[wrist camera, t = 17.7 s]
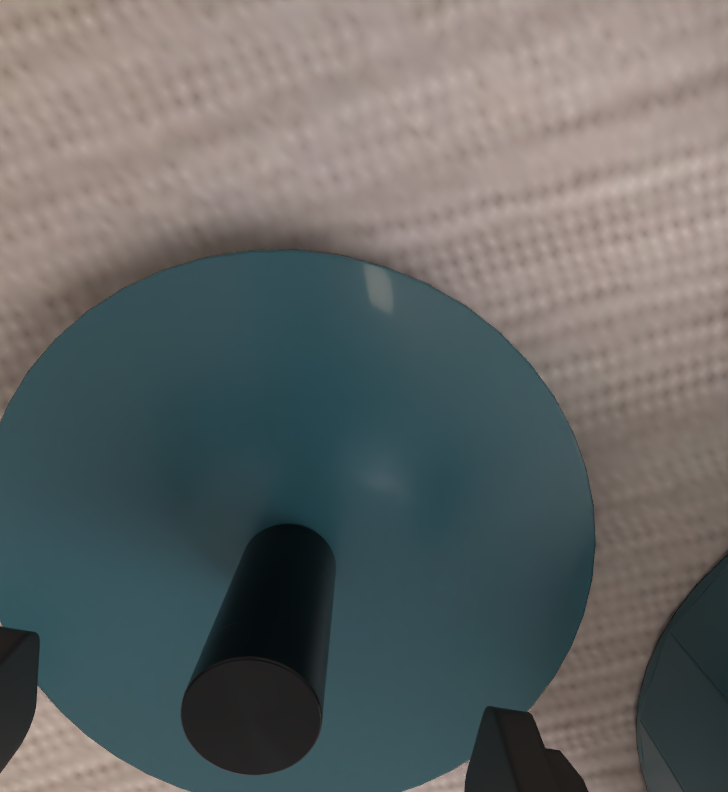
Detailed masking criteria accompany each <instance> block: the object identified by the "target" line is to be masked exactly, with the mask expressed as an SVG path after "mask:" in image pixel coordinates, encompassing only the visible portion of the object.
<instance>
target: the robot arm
mask: <svg viewBox="0 0 728 792" xmlns="http://www.w3.org/2000/svg"><path fill="white" fill-rule="evenodd" d="M39 651H40V638H39V635H38V633H36V632H32V631H26V630H20V629H13V628H7V627H1V626H0V773H1V771H2V770H3V769H4V767H5V766H6V765H7V763H8V762H9V761H10V759H11V758H12V756H13V755H14V754H15V752H16V751H17V750H18V748H19V747H20V745H21V743H22V742H23V740H24V738H25V736H26V734H27V732H28V730H29V728H30V725H31V723H32V720H33V717H34V713H35V709H36V700H37V684H38V668H39ZM464 792H588V790H587V787H586V785H585V783H584V780H583V779H582V777H581V776H580V775H579V774H578V773H577V771H576V770H575V769H574V768H573V766H572V765H571V764H570V763H569V761H568V760H567V759H566V758H565V756H564V755H563V754H562V753H561V751H559V750H553V749H547V748H545V746H544V744H543V741H542V738H541V736H540V733H539V730H538V728H537V725H536V723H535V720H534V718H533V716H532V715H531V714H530V713H529V712H524V711H518V710H512V709H505V708H499V707H493V706H488V707H486V709H485V710H484V712H483V716H482V719H481V723H480V726H479V730H478V734H477V737H476V741H475V744H474V748H473V752H472V755H471V759H470V762H469V766H468V770H467V774H466V779H465V791H464Z"/></svg>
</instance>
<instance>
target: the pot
mask: <svg viewBox="0 0 728 792" xmlns="http://www.w3.org/2000/svg"><path fill="white" fill-rule="evenodd" d="M637 746H638V752H639V757H640V762H641V767H642V772H643V775H644V778H645V780H646V784H647V792H728V556H727V557H726V558H724V559H723V560H722V561H721V562H720V563H719V564H718V565H717V566H716V567H715V568H714V569H713V570H712V571H711V572H710V573H709V574H708V575H707V576H706V577H705V578H704V579H703V580H702V581H701V582H700V583H699V584H698V585H697V586H696V587H695V589H694V590H693V591H692V592H691V594H690V595H689V596H688V597H687V599H686V600H685V601H684V603H683V604H682V605H681V606H680V608H679V609H678V610H677V611H676V613H675V615H674V616H673V618H672V620H671V621H670V623H669V625H668V626H667V628H666V630H665V631H664V633H663V634H662V636H661V638H660V640H659V642H658V644H657V646H656V649H655V651H654V653H653V656H652V658H651V660H650V662H649V665H648V667H647V671H646V674H645V678H644V682H643V685H642V689H641V692H640V698H639V706H638V714H637Z"/></svg>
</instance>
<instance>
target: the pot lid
mask: <svg viewBox="0 0 728 792" xmlns="http://www.w3.org/2000/svg"><path fill="white" fill-rule="evenodd" d="M594 554H595V524H594V505H593V500H592V495H591V490H590V485H589V480H588V475H587V470H586V467H585V464H584V461H583V458H582V456H581V453H580V450H579V447H578V444H577V442H576V439H575V436H574V433H573V431H572V429H571V427H570V425H569V423H568V421H567V420H566V418H565V416H564V414H563V412H562V410H561V408H560V406H559V404H558V403H557V401H556V399H555V397H554V395H553V394H552V393H551V391H550V390H549V389H548V387H547V386H546V384H545V383H544V382H543V380H542V379H541V378H540V376H539V375H538V373H537V372H536V371H535V369H534V368H533V367H532V365H531V364H530V363H529V362H528V361H527V360H526V359H525V358H524V357H523V355H522V354H521V353H520V352H519V351H518V350H517V349H516V348H515V347H514V346H513V345H512V344H511V343H510V342H509V341H508V340H507V339H506V338H505V337H504V336H503V335H502V334H501V333H500V332H499V331H498V330H496V329H495V328H494V327H492V326H491V325H490V324H489V323H487V322H486V321H485V320H483V319H482V318H481V317H480V316H478V315H477V314H476V313H474V312H473V311H472V310H471V309H469V308H468V307H467V306H465V305H463V304H462V303H460V302H458V301H457V300H455V299H453V298H451V297H450V296H448V295H446V294H444V293H443V292H441V291H439V290H438V289H436V288H434V287H432V286H431V285H429V284H427V283H424V282H422V281H420V280H417V279H415V278H412V277H410V276H407V275H405V274H403V273H400V272H398V271H395V270H393V269H390V268H388V267H385V266H381V265H378V264H374V263H370V262H366V261H362V260H358V259H355V258H351V257H347V256H343V255H336V254H328V253H320V252H311V251H303V250H249V251H243V252H236V253H230V254H223V255H216V256H210V257H204V258H201V259H198V260H194V261H191V262H188V263H184V264H181V265H178V266H174V267H171V268H167V269H164V270H161V271H159V272H157V273H155V274H153V275H151V276H148V277H146V278H144V279H142V280H140V281H137V282H135V283H133V284H131V285H129V286H127V287H124V288H122V289H121V290H119V291H118V292H116V293H115V294H113V295H112V296H110V297H108V298H107V299H105V300H104V301H102V302H101V303H99V304H98V305H96V306H95V307H93V308H91V309H90V310H88V311H87V312H86V313H85V314H83V315H82V316H81V317H80V318H79V319H78V320H77V321H75V322H74V323H73V324H72V325H71V326H70V327H69V328H67V329H66V330H65V331H64V332H63V333H62V334H61V335H59V336H58V337H57V338H56V339H55V340H54V341H53V342H52V344H51V345H50V346H49V347H48V348H47V350H46V351H45V352H44V353H43V354H42V356H41V357H40V358H39V359H38V360H37V361H36V363H35V364H34V365H33V366H32V367H31V369H30V370H29V371H28V373H27V374H26V376H25V378H24V379H23V381H22V383H21V384H20V386H19V387H18V389H17V391H16V392H15V394H14V396H13V397H12V399H11V400H10V402H9V404H8V406H7V408H6V410H5V413H4V415H3V418H2V420H1V422H0V622H1V624H2V626H3V627H7V628H13V629H20V630H26V631H32V632H36V633H38V635H39V638H40V651H39V668H38V684H37V685H38V686H39V687H40V688H41V690H42V691H43V692H44V693H45V694H46V695H47V697H48V698H49V699H50V700H51V701H52V702H53V704H54V705H55V706H56V707H57V708H58V709H59V710H60V711H61V712H62V713H63V714H64V715H65V716H66V717H67V718H68V719H69V720H70V721H71V722H73V723H74V724H75V725H76V726H77V727H78V728H79V729H80V730H81V731H82V732H84V733H85V734H86V735H87V736H88V737H90V738H91V739H92V740H94V741H95V742H97V743H98V744H99V745H101V746H102V747H104V748H105V749H106V750H108V751H109V752H110V753H112V754H113V755H115V756H116V757H118V758H120V759H121V760H123V761H125V762H127V763H129V764H130V765H132V766H134V767H136V768H137V769H139V770H141V771H143V772H144V773H146V774H148V775H151V776H153V777H155V778H158V779H160V780H162V781H165V782H167V783H169V784H172V785H174V786H176V787H179V788H181V789H185V790H188V791H191V792H402V791H405V790H408V789H411V788H414V787H417V786H420V785H422V784H424V783H426V782H428V781H431V780H433V779H435V778H437V777H439V776H441V775H443V774H445V773H447V772H450V771H452V770H453V769H455V768H457V767H458V766H460V765H461V764H463V763H465V762H466V761H468V760H469V759H471V755H472V752H473V748H474V744H475V741H476V737H477V734H478V730H479V726H480V723H481V719H482V716H483V712H484V710H485V709H486V707H488V706H493V707H499V708H505V709H512V710H518V711H524V712H527V711H528V710H529V709H530V708H531V707H532V706H533V705H534V703H535V702H536V701H537V699H538V698H539V697H540V695H541V694H542V693H543V691H544V690H545V689H546V687H547V686H548V685H549V683H550V682H551V681H552V679H553V678H554V676H555V674H556V673H557V671H558V669H559V667H560V666H561V664H562V662H563V660H564V658H565V657H566V655H567V653H568V651H569V650H570V648H571V646H572V643H573V640H574V638H575V635H576V633H577V630H578V628H579V625H580V623H581V620H582V618H583V615H584V611H585V607H586V603H587V599H588V595H589V591H590V586H591V582H592V576H593V565H594Z"/></svg>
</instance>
